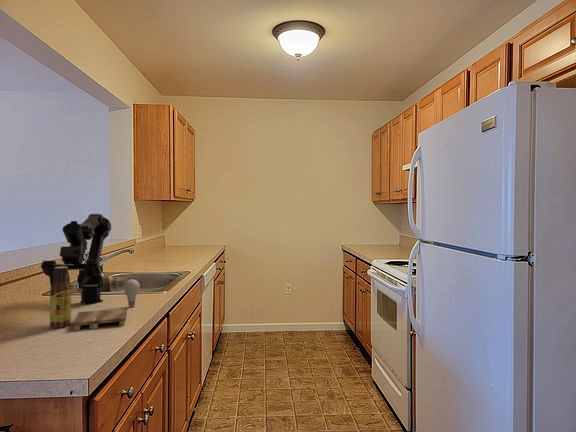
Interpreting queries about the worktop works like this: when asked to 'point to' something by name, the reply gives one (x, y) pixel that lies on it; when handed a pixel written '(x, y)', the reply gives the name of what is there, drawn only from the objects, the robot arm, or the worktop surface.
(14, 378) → the worktop surface
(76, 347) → the worktop surface
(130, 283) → the lightbulb
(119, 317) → the wooden pallet
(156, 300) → the worktop surface
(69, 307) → the sauce bottle
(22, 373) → the worktop surface
